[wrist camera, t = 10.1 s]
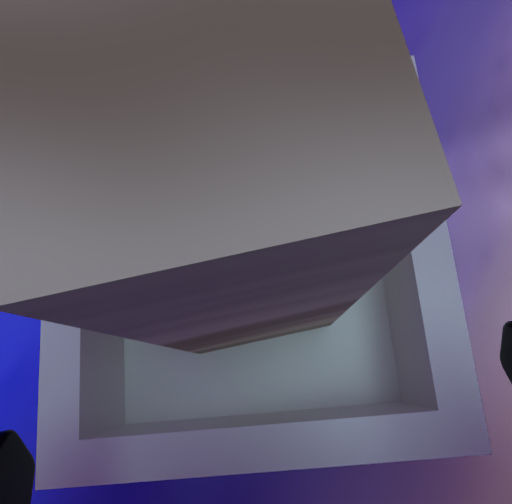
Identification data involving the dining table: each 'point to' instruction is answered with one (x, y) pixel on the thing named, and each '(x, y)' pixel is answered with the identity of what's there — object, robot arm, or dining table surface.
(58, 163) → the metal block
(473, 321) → the dining table surface
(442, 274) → the box
